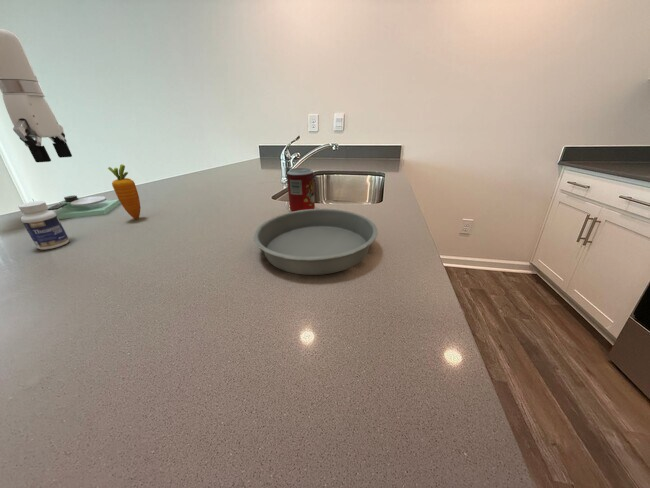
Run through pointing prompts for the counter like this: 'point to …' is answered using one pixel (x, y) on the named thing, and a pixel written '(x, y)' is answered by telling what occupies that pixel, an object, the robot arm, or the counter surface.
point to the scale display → (57, 206)
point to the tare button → (70, 198)
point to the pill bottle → (43, 225)
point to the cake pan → (316, 240)
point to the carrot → (126, 192)
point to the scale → (85, 209)
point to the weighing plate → (88, 201)
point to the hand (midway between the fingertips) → (55, 159)
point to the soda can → (301, 189)
